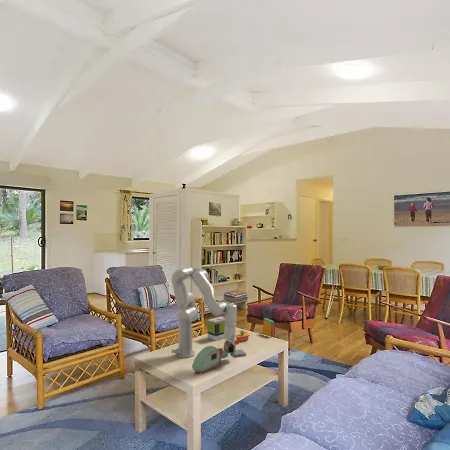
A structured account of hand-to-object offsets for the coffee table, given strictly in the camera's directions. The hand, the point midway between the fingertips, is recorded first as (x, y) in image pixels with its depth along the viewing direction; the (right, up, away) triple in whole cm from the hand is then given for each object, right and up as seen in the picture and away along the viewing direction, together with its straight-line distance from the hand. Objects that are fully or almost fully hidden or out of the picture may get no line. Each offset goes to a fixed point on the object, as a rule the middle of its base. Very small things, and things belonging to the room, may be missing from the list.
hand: (229, 349), depth 225 cm
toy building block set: (+19, -8, +43) cm, 48 cm away
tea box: (-8, -8, +47) cm, 49 cm away
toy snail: (-13, -7, -13) cm, 20 cm away
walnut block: (0, -1, 0) cm, 1 cm away
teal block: (-4, -7, +7) cm, 11 cm away
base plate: (+6, -7, +9) cm, 13 cm away
